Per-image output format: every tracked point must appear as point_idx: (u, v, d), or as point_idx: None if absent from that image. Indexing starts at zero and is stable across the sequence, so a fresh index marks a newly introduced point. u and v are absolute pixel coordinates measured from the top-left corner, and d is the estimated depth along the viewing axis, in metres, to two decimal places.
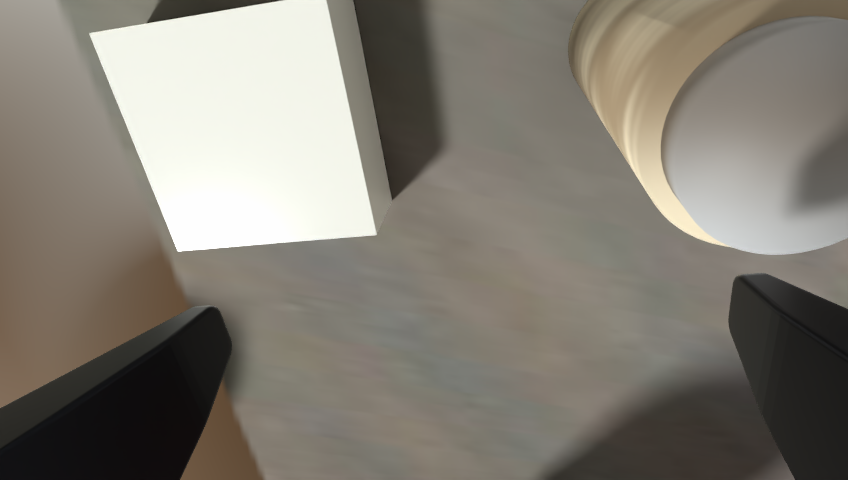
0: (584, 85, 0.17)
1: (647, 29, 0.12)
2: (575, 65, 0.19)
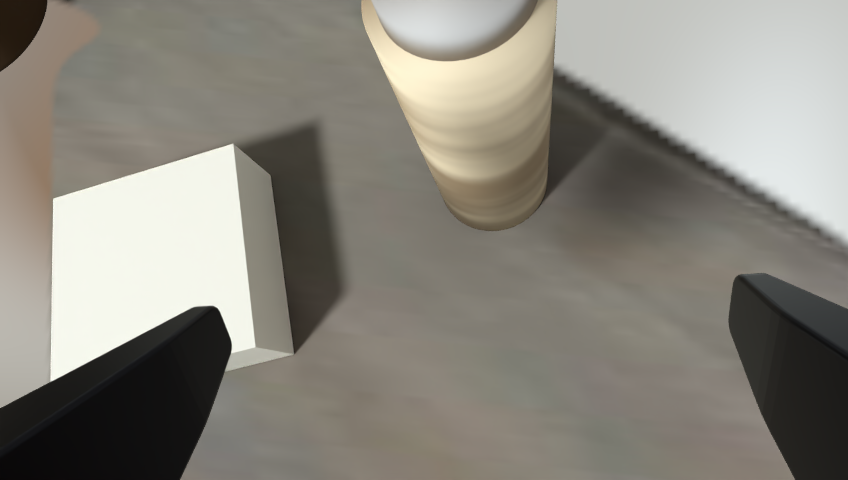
0: (427, 164, 0.20)
1: None
2: None
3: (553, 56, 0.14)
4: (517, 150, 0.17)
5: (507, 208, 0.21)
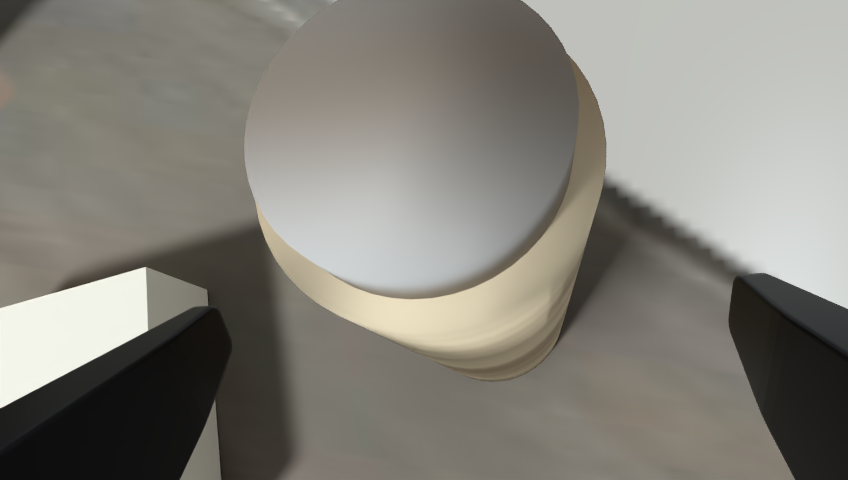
0: None
1: None
2: None
3: None
4: (526, 346, 0.11)
5: (510, 373, 0.15)
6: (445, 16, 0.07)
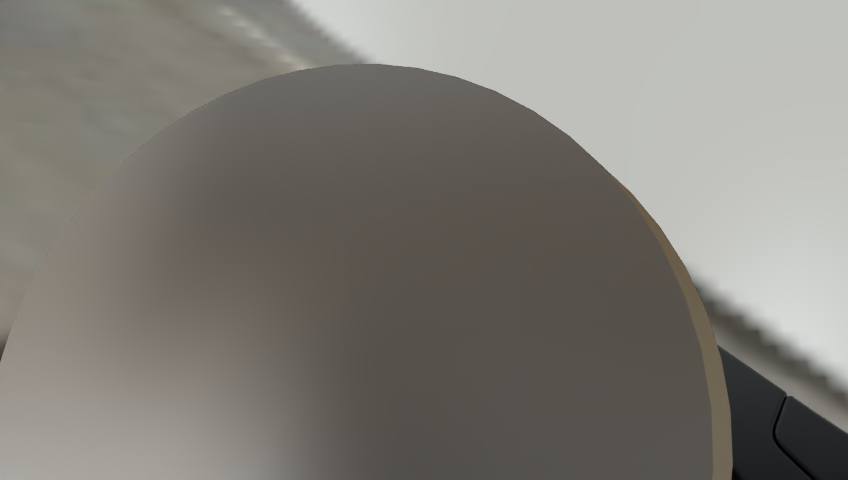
0: None
1: None
2: None
3: None
4: None
5: None
6: (404, 159, 0.03)
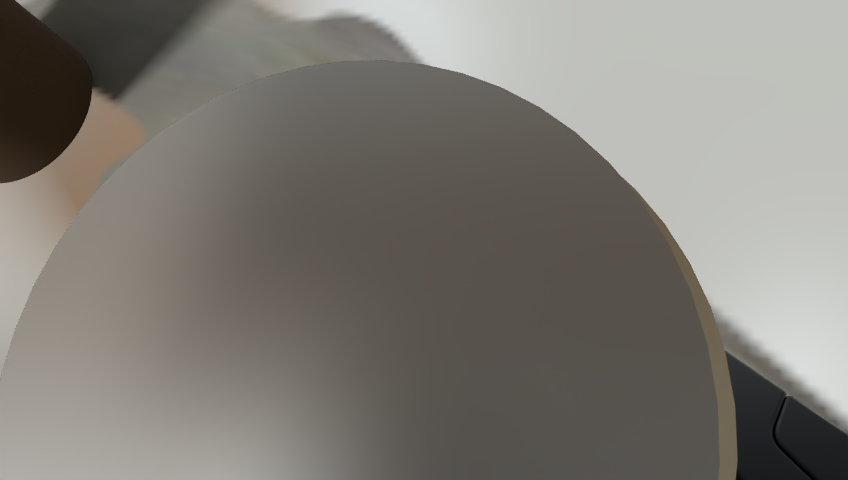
0: None
1: None
2: None
3: None
4: None
5: None
6: (410, 154, 0.03)
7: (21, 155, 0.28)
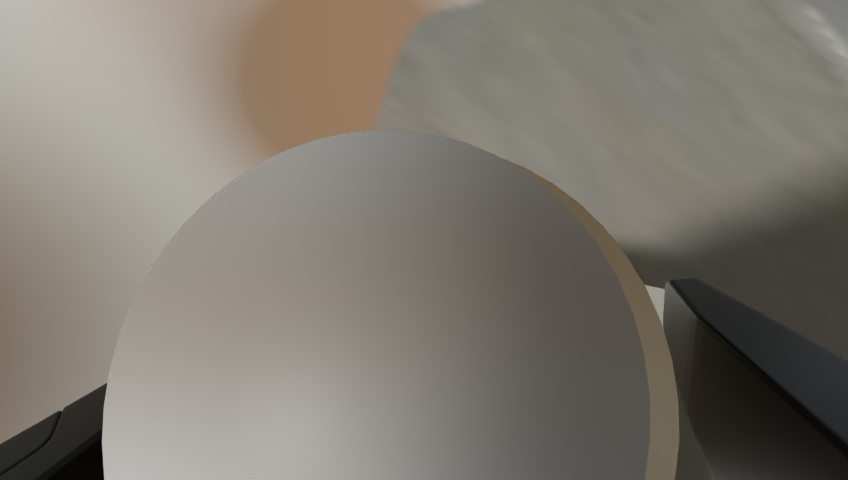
0: None
1: None
2: None
3: None
4: None
5: None
6: (424, 206, 0.04)
7: None
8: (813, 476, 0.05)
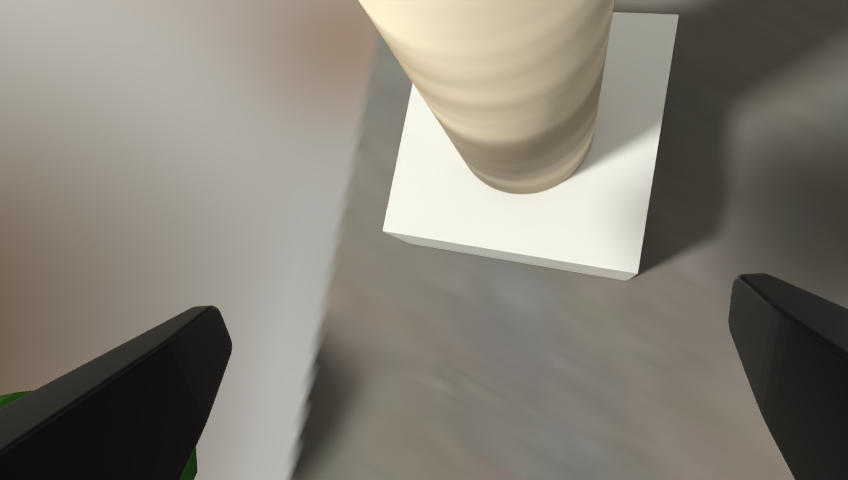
0: None
1: None
2: None
3: None
4: (566, 99, 0.12)
5: (547, 168, 0.16)
6: None
7: None
8: None
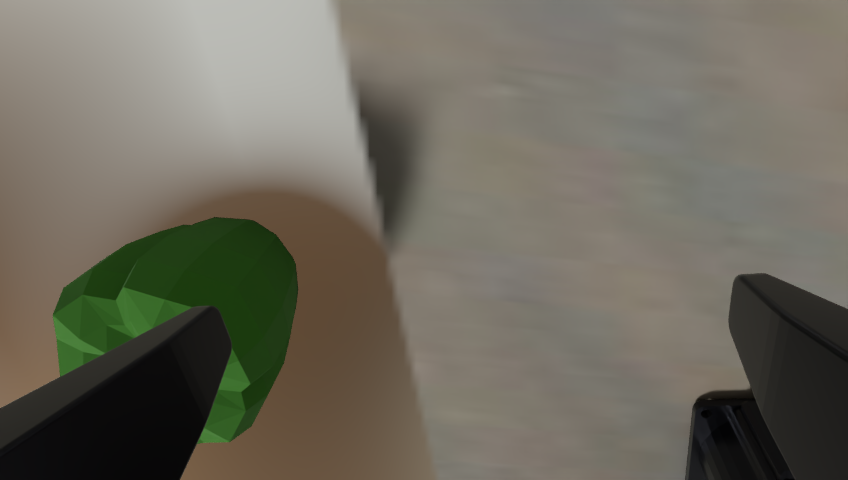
0: None
1: None
2: None
3: None
4: None
5: None
6: None
7: None
8: None
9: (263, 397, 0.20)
